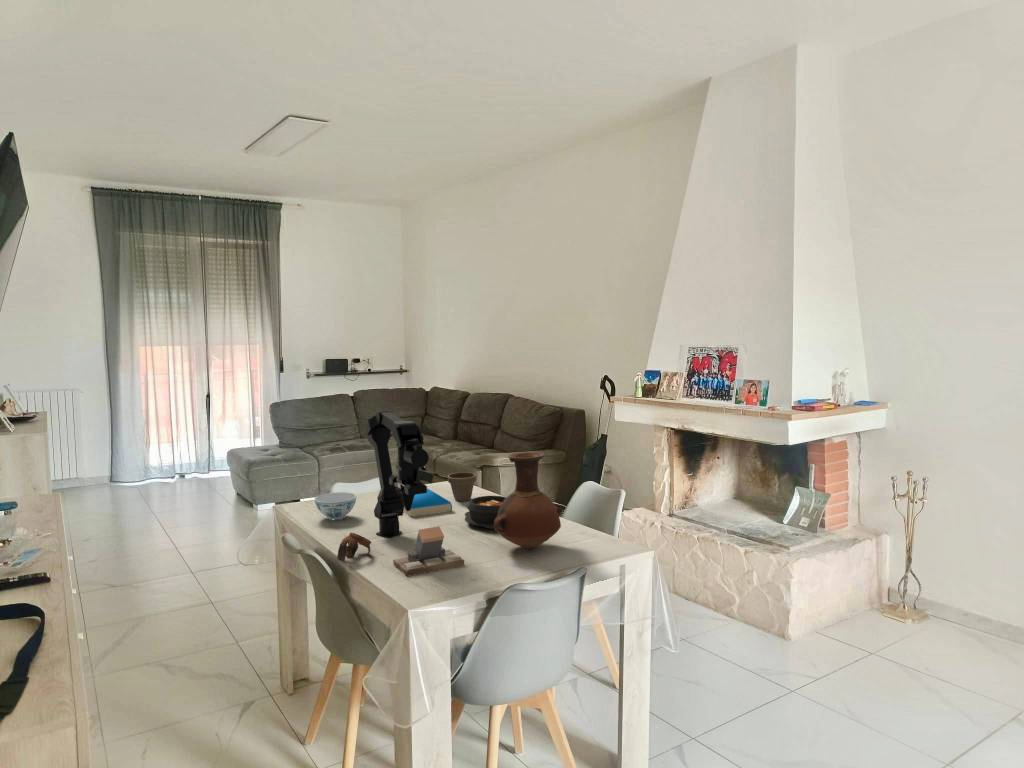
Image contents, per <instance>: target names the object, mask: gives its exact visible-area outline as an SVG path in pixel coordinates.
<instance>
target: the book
mask: <svg viewBox="0 0 1024 768" xmlns="http://www.w3.org/2000/svg"><path fill="white" fill-rule="evenodd" d="M452 509H453V505H452V503H451V501H449V500H448V499H446V498H445V497H443V496H441V495H440V494H438V493H436V492H434V491H433V490H432V489H429V488H427V493H423V494H416V495H415V496H414V499H413V502H412V506H411V510H410V511H406V509H405V507H404V512H403V513H404V514H406V513H407V514H408V515H407V514H406V515H407V516H408V517H410V516H414V517H418V516H417V515H421V516H425V515H424V514H428V515H432V514H431V513H435V514H439V513H438V512H442V513H446V512H445V511H449V512H452V511H453V510H452Z"/></svg>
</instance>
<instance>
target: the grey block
mask: <svg viewBox="0 0 1024 768" xmlns="http://www.w3.org/2000/svg"><path fill="white" fill-rule="evenodd" d="M444 538H445V534H444V532H443V530H442V528H441V527H440V526H439V525H438V526H433V527H426V528H421V529H418V533H417V536H416V540H415V541H416V542H415V547H414V551H413V552H414V553H416V554H417V559H418V560H424V559H429V558H434V557H439V555H440V551H441V547H442V546H443V543H444ZM442 548H443V547H442Z"/></svg>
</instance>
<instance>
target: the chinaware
mask: <svg viewBox="0 0 1024 768" xmlns="http://www.w3.org/2000/svg"><path fill="white" fill-rule="evenodd" d="M356 501H357V494H355V493H353V492H347V491H346V492H345V491H344V492H343V491H340V492H339V491H337V492H335V491H334V492H328V493H324V494H320V495H317V496H316V497H314V504H315V506H316V508H317V510H318V511H319V512H320V513H321V514H322V515H323V516H325V517H326V519H327V518H328V519H341V520H343V519H342V518H344V519H346V516H347V515H348V514H349V513H350V512H351V511H352V510H353V509H354V506H355V504H356ZM328 519H327V520H328Z"/></svg>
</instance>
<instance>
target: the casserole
mask: <svg viewBox="0 0 1024 768" xmlns="http://www.w3.org/2000/svg"><path fill="white" fill-rule="evenodd" d="M506 497H507V496H501V495H484V496H477V497H474V498H471V499H470V500H469V502H468V505H467V506H466V509H467V510H468V511H467V512H465V513H464V516H465V517H464V520H465V522H466V523H467V524H470V525H471V526H472V525H473V526H476V527H480V528H484V527H485V528H487V529H491V530H495V529H494V520H495V519H496V518H497V515H498V511H499V508H500V506H501V504H502V502H503V501H504V500H505V498H506Z"/></svg>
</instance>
